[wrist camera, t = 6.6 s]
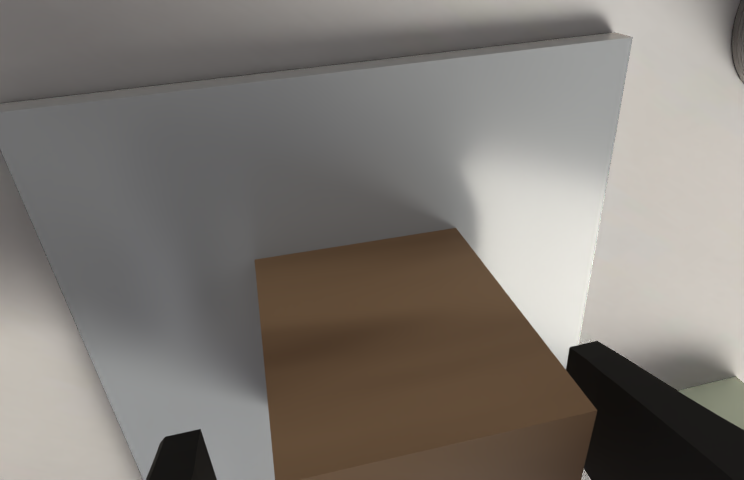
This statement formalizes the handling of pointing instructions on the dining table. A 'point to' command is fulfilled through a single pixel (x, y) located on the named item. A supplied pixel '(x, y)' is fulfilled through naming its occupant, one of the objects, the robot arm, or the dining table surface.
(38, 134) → the slate tile
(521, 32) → the dining table surface
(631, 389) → the robot arm
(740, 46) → the grey cylinder
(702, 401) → the sage box
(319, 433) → the walnut block
